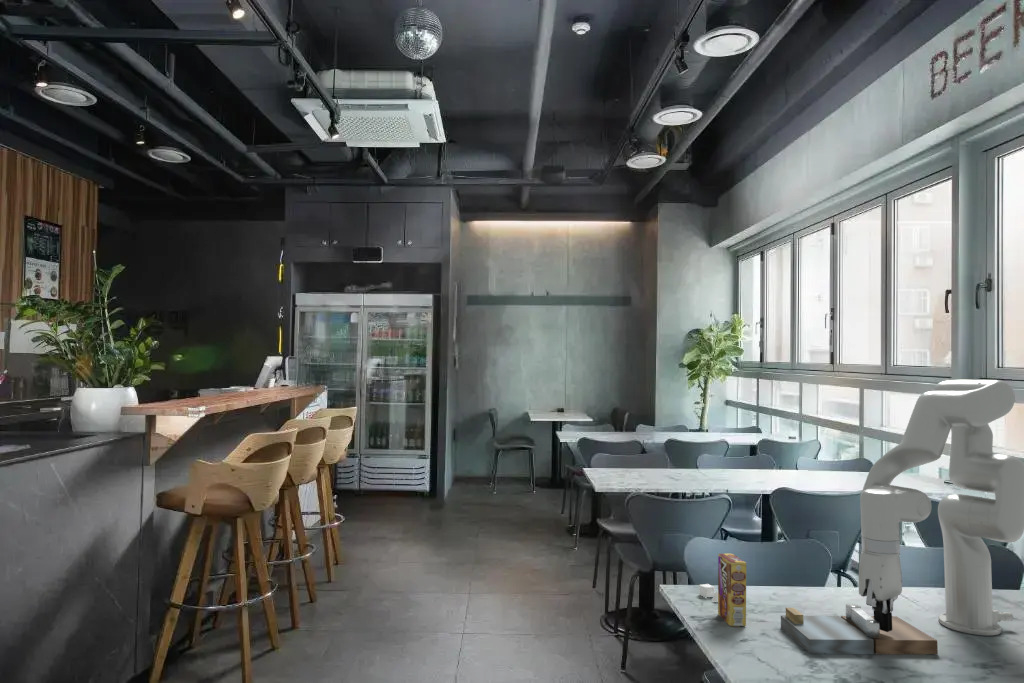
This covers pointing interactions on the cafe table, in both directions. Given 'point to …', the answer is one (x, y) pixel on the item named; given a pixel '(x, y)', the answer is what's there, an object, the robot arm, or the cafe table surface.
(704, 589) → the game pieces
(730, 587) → the candy box
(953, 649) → the cafe table surface
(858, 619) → the swing bar
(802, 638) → the gray and brown slabs
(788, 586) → the cafe table surface
